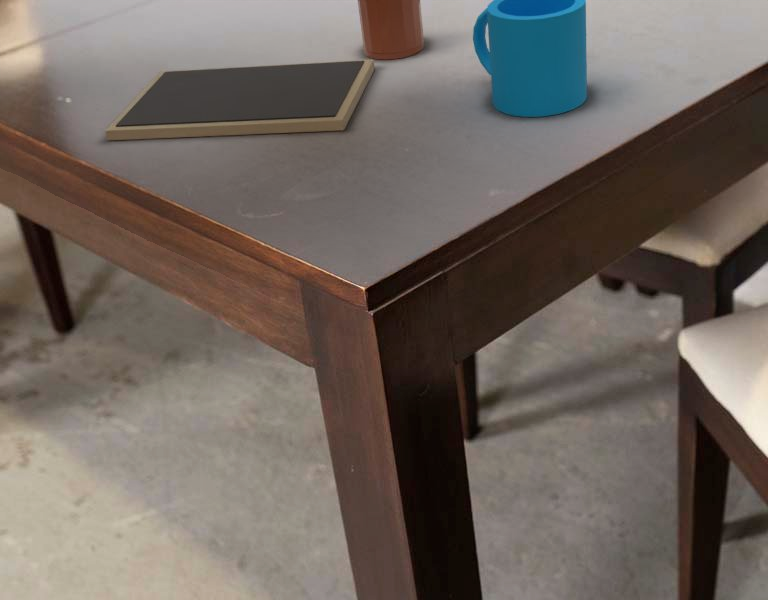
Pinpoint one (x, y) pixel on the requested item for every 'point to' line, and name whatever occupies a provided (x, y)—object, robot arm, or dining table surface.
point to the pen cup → (391, 28)
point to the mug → (534, 55)
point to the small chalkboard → (245, 101)
